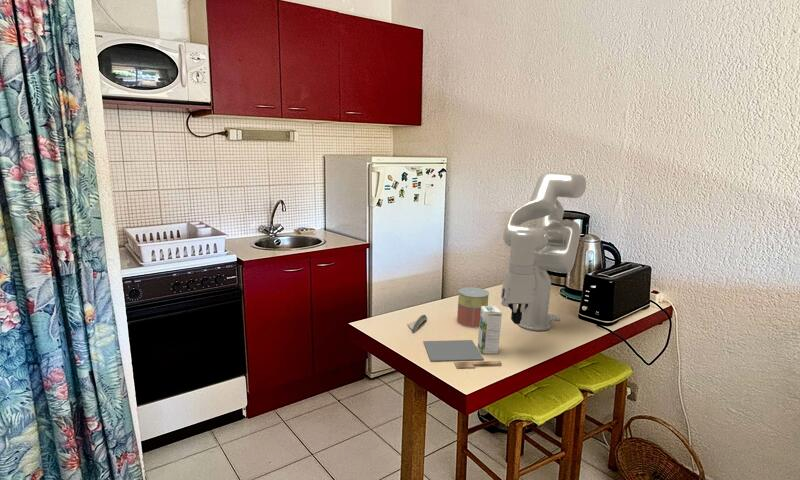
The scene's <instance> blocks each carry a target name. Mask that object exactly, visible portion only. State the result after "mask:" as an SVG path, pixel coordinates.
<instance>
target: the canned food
mask: <svg viewBox="0 0 800 480" xmlns="http://www.w3.org/2000/svg"><path fill="white" fill-rule="evenodd" d="M489 294H490V293H489V291H488V290H486V289H484V288H481V287H475V286H474V287H473V286H468V287H467V286H466V287H462V288H460V289H458V301H457V316H456V317H457V318H456V322H457V323H458V324H459V325H461V326H462V327H466V328H476V329H477V328H478V329H479V324H480V314H481V306H489V296H490V295H489Z"/></svg>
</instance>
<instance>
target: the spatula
mask: <svg viewBox="0 0 800 480" xmlns="http://www.w3.org/2000/svg"><path fill="white" fill-rule="evenodd" d="M453 363H454V366H455V368H456V369H457V370H460V369H461V370H464V369H469V370H470V369H476V368H477V367H481V368H482V367H502V364H503V363H502V362H501V360H488V361H487V360H486V361H485V360H478V361H453Z"/></svg>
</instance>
